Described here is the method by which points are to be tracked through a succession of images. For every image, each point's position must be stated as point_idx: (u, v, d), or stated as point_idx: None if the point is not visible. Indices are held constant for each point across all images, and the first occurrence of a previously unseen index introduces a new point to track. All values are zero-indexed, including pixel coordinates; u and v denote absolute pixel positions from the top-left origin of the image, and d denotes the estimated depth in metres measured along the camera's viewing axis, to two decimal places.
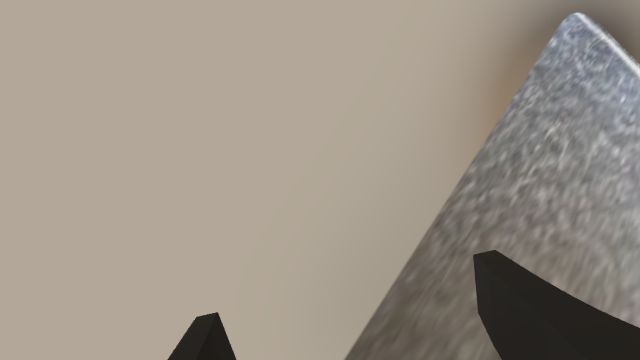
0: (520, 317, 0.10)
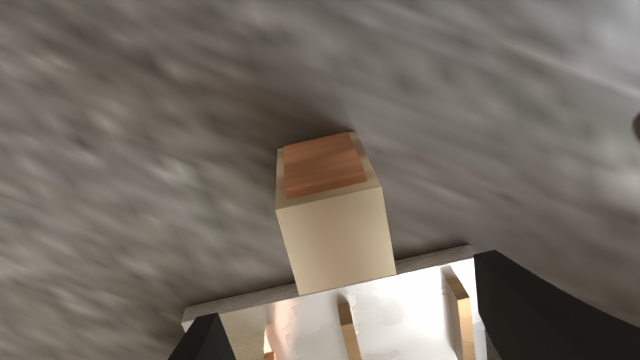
0: (520, 317, 0.10)
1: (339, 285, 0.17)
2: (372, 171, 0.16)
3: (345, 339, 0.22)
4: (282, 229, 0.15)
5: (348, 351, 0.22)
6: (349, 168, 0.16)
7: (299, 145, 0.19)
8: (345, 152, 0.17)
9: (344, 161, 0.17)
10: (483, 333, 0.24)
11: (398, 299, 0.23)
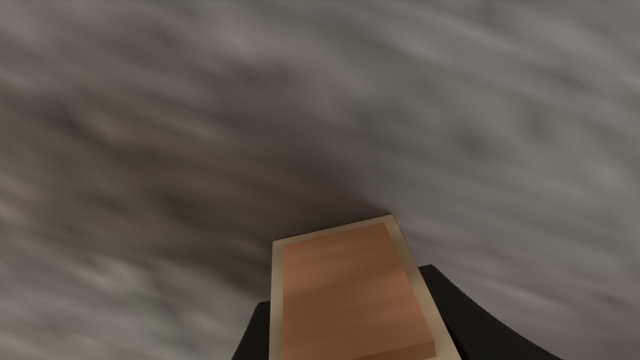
0: None
1: None
2: (441, 325, 0.09)
3: None
4: None
5: None
6: (402, 326, 0.09)
7: (307, 247, 0.12)
8: (388, 276, 0.10)
9: (390, 302, 0.09)
10: None
11: None
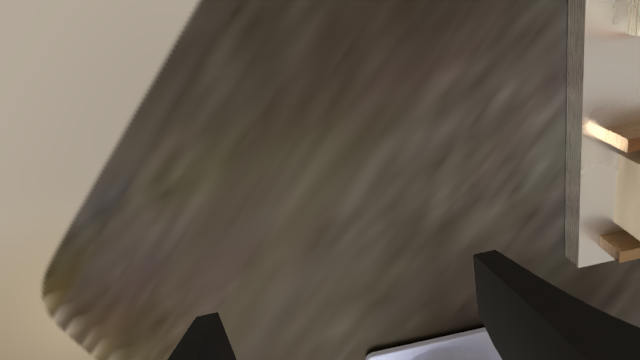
0: (520, 317, 0.10)
1: None
2: None
3: None
4: None
5: None
6: None
7: None
8: None
9: None
10: None
11: None
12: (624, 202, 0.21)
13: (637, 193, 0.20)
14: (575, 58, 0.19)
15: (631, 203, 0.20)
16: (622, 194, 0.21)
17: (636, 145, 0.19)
